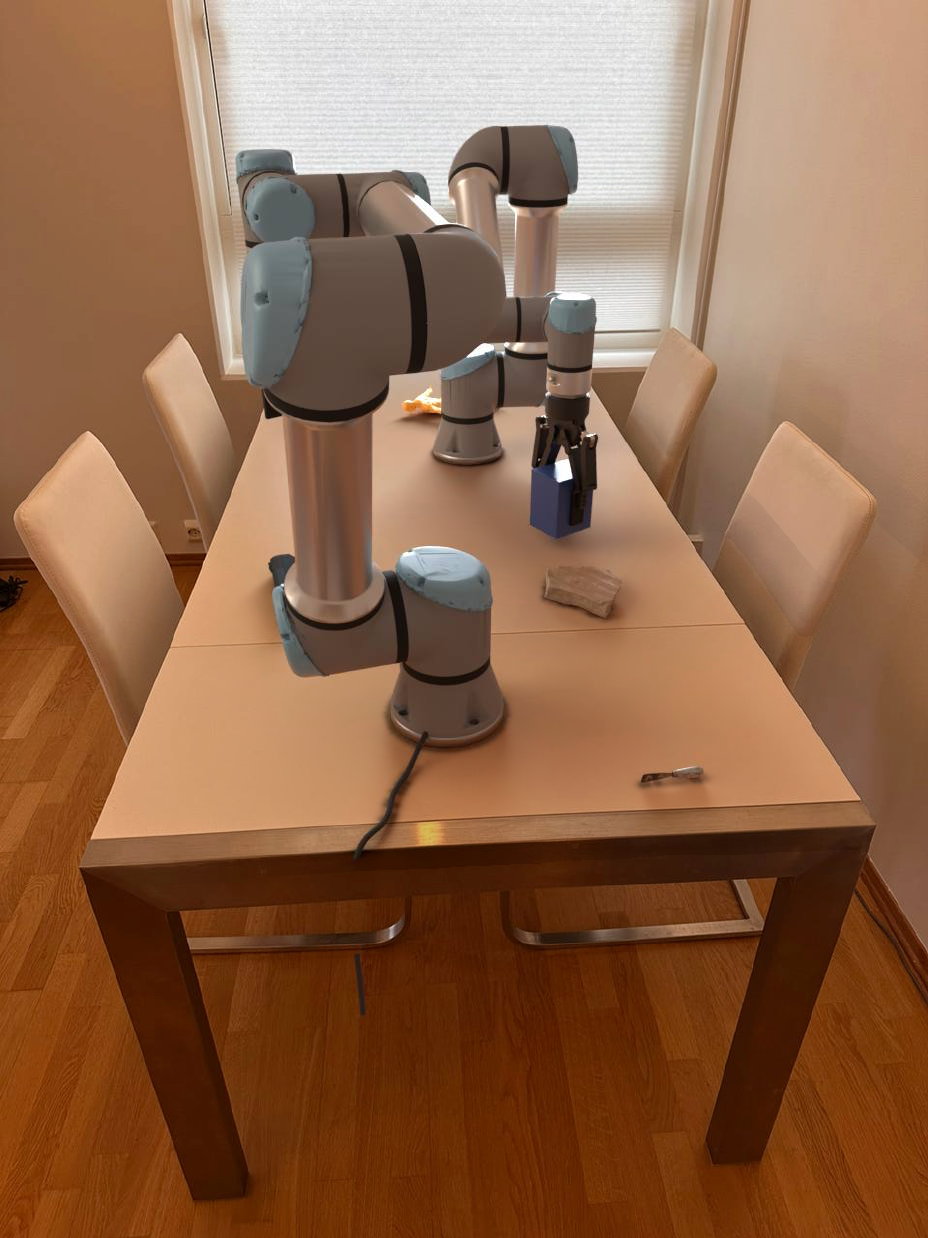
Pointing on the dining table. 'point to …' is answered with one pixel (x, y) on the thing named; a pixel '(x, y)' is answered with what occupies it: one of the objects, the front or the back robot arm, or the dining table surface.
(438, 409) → the human figure
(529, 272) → the back robot arm
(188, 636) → the dining table surface
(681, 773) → the putty knife
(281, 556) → the handgun
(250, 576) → the dining table surface
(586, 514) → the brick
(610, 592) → the stone
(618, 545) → the dining table surface
